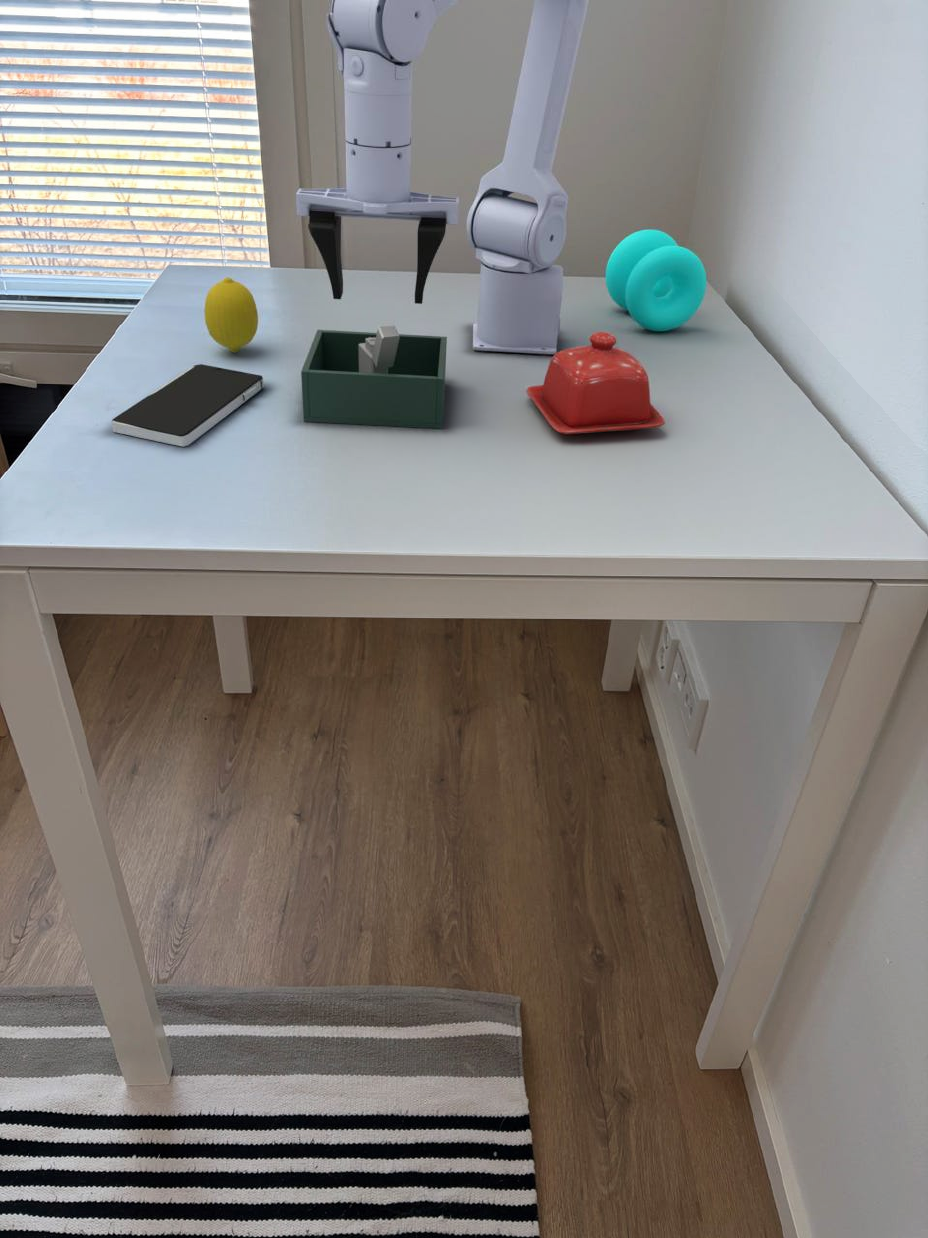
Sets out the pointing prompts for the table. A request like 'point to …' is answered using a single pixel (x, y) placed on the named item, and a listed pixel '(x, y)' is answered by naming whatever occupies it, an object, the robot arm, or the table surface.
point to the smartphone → (188, 405)
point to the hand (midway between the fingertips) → (378, 298)
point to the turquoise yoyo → (655, 280)
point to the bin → (374, 382)
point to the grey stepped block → (379, 351)
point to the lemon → (231, 314)
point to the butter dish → (595, 390)
